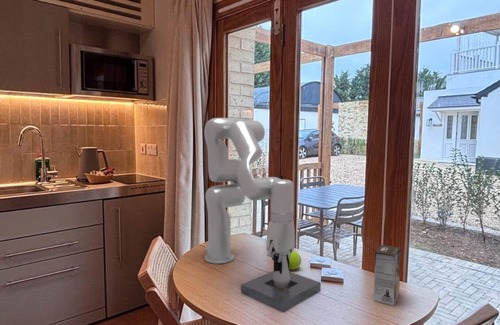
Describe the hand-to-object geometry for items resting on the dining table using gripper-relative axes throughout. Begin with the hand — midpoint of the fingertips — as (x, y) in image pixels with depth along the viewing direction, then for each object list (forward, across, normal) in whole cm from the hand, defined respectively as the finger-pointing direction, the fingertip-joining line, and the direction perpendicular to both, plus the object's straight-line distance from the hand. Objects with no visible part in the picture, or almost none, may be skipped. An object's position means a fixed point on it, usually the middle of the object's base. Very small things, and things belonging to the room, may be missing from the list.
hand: (281, 270), depth 115 cm
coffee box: (+8, -21, +27) cm, 35 cm away
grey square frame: (+7, 0, 0) cm, 7 cm away
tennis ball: (+8, -19, -10) cm, 23 cm away
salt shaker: (+5, 0, 0) cm, 5 cm away
